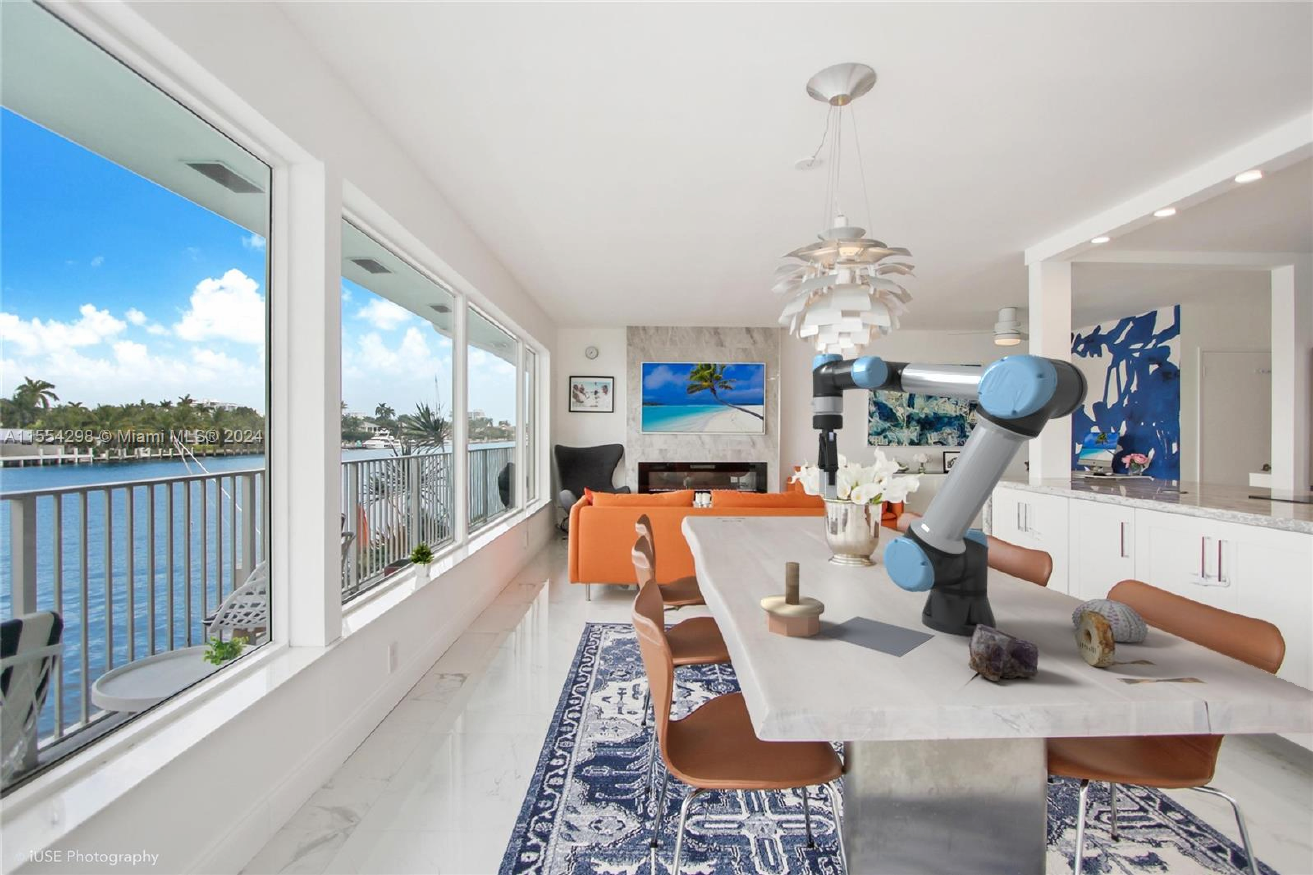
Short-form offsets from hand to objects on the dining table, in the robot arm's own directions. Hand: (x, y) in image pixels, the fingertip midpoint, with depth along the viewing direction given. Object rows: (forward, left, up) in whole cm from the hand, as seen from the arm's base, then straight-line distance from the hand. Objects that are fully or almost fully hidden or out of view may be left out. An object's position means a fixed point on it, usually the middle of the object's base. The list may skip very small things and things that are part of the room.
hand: (827, 496), depth 149 cm
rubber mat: (-20, +13, -28) cm, 37 cm away
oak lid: (-5, +23, -23) cm, 33 cm away
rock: (-44, +16, -29) cm, 55 cm away
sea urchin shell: (-55, -26, -29) cm, 67 cm away
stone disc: (-56, -4, -29) cm, 63 cm away
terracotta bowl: (-5, +23, -28) cm, 37 cm away
